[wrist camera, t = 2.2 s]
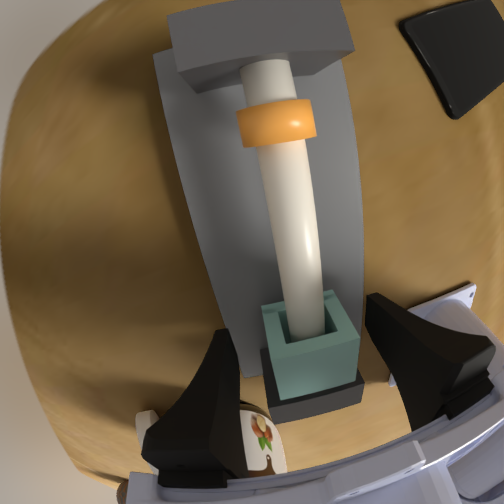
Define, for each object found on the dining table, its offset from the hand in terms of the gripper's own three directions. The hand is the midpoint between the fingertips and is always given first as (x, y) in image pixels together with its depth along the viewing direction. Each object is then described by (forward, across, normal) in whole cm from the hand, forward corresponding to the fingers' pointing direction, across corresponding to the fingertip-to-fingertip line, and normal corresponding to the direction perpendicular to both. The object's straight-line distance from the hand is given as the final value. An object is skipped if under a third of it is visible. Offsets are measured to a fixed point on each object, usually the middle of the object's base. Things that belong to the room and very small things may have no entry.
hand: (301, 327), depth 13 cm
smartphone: (+3, -17, -16) cm, 23 cm away
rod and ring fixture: (+3, 0, -4) cm, 5 cm away
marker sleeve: (+1, 0, 0) cm, 1 cm away
